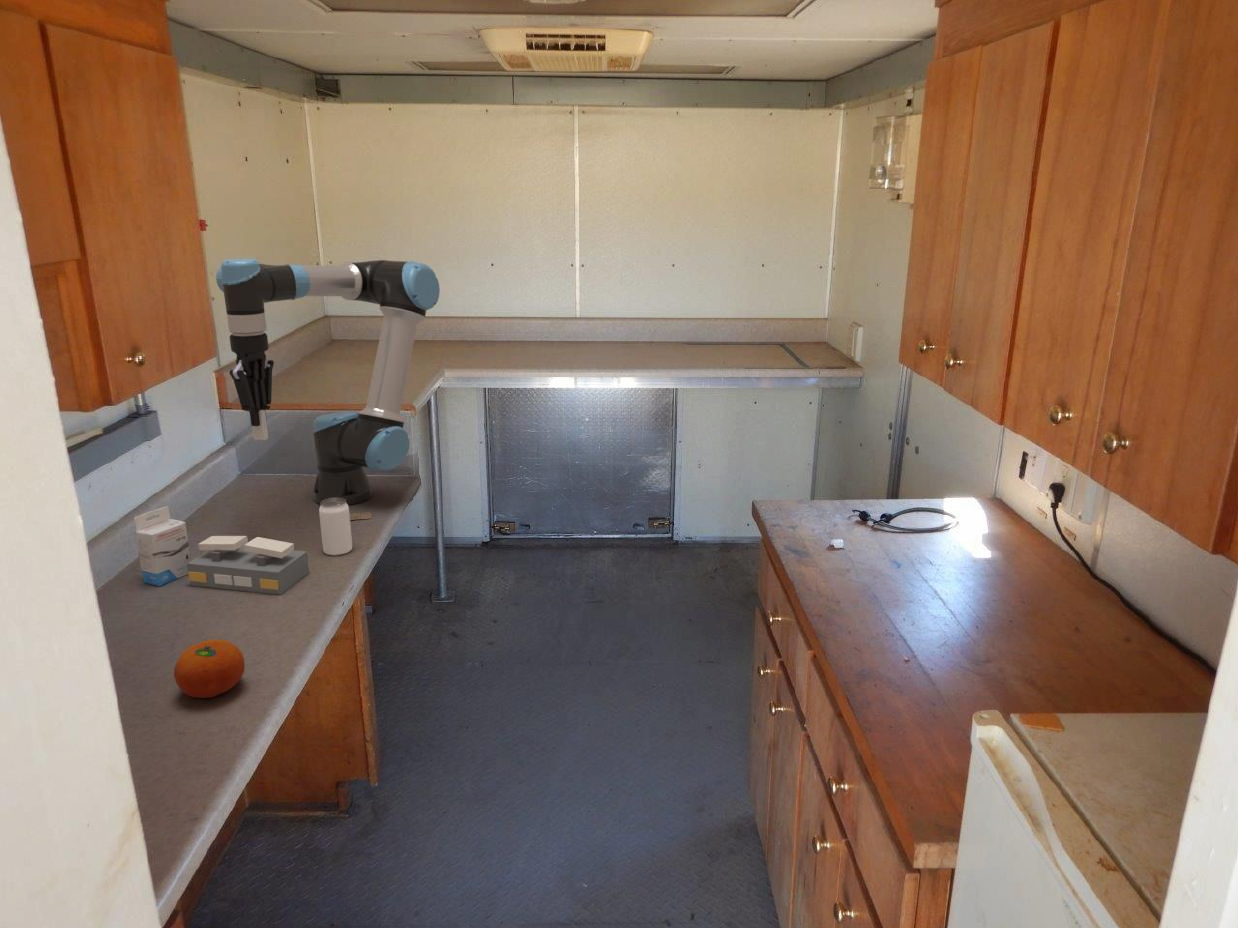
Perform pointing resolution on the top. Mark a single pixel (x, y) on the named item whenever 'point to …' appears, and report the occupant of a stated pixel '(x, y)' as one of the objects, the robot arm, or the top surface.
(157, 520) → the ink box
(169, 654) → the top surface
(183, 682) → the fruit
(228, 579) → the switch unit
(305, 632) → the top surface
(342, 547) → the can
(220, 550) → the rocker
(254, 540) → the rocker
